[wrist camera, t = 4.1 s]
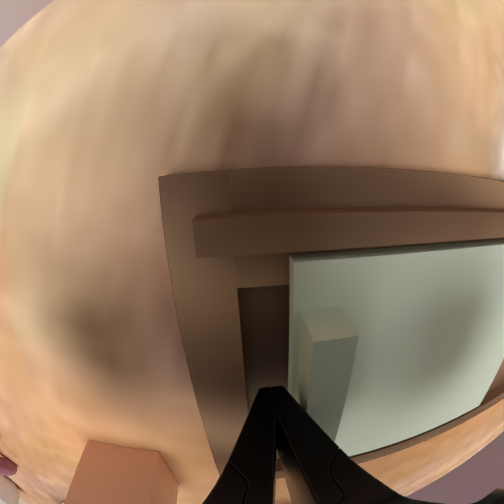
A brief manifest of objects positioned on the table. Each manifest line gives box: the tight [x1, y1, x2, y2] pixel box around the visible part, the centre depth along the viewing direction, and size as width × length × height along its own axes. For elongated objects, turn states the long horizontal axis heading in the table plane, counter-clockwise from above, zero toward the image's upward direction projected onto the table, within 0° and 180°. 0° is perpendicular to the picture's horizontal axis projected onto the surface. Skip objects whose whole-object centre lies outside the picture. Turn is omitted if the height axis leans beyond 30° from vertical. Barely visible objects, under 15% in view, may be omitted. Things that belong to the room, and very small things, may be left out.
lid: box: [288, 239, 504, 456], centre depth 9 cm, size 11×13×2 cm
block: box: [64, 440, 179, 504], centre depth 11 cm, size 5×5×6 cm
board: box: [158, 167, 504, 479], centre depth 11 cm, size 16×28×2 cm, turn 93°
